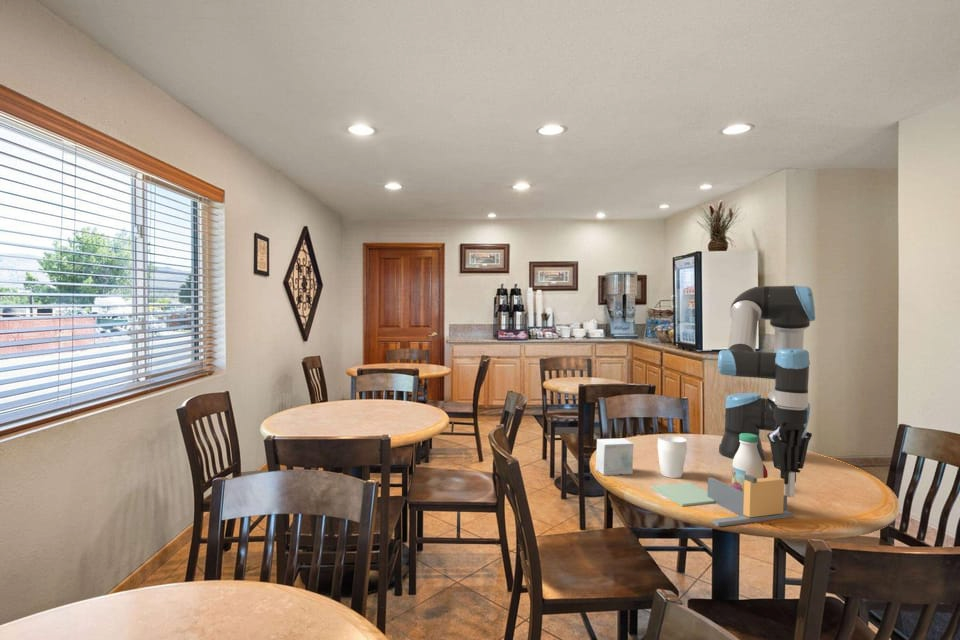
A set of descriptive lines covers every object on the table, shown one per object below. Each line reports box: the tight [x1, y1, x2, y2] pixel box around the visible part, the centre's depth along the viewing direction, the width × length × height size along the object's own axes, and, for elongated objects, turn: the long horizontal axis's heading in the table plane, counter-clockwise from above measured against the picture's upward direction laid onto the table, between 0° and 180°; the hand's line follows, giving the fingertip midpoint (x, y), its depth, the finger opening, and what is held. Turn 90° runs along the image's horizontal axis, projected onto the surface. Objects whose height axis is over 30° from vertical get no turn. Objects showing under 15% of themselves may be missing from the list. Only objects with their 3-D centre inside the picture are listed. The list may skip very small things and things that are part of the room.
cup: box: [657, 434, 688, 479], centre depth 162 cm, size 9×9×12 cm
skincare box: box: [595, 437, 634, 476], centre depth 164 cm, size 10×6×10 cm, turn 102°
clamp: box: [707, 477, 794, 527], centre depth 135 cm, size 25×16×6 cm, turn 106°
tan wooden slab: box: [743, 475, 784, 517], centre depth 129 cm, size 11×3×10 cm, turn 106°
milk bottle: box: [731, 433, 764, 492], centre depth 137 cm, size 8×8×20 cm
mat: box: [650, 482, 716, 507], centre depth 145 cm, size 14×14×1 cm
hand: (787, 495), depth 131 cm, fingers closed
